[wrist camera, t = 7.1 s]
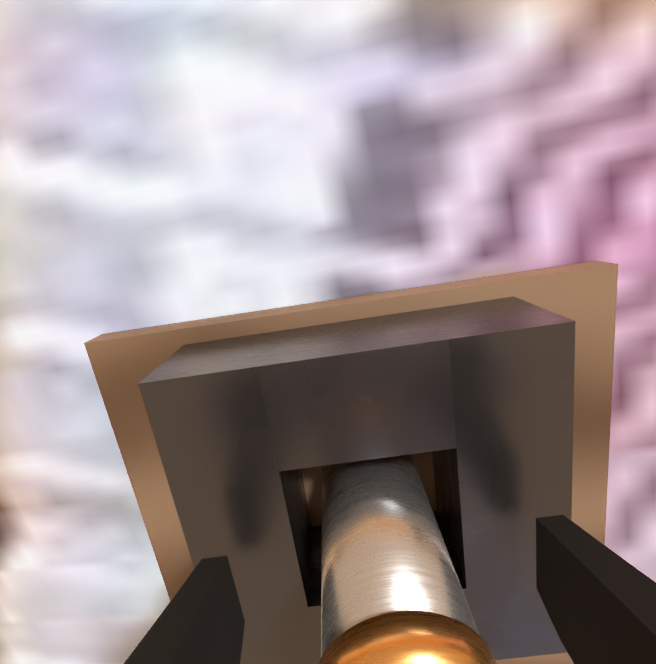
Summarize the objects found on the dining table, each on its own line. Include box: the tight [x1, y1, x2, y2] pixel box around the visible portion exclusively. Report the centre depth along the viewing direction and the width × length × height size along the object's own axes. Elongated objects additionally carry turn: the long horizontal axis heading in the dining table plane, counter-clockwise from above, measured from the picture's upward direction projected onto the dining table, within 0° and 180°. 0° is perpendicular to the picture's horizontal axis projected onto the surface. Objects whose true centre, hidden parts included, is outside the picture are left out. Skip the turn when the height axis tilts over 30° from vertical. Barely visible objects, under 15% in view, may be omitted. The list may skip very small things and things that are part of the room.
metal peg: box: [319, 454, 497, 664], centre depth 10 cm, size 3×3×7 cm
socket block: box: [138, 296, 575, 664], centre depth 12 cm, size 10×10×3 cm
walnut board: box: [84, 261, 618, 664], centre depth 15 cm, size 20×16×1 cm
